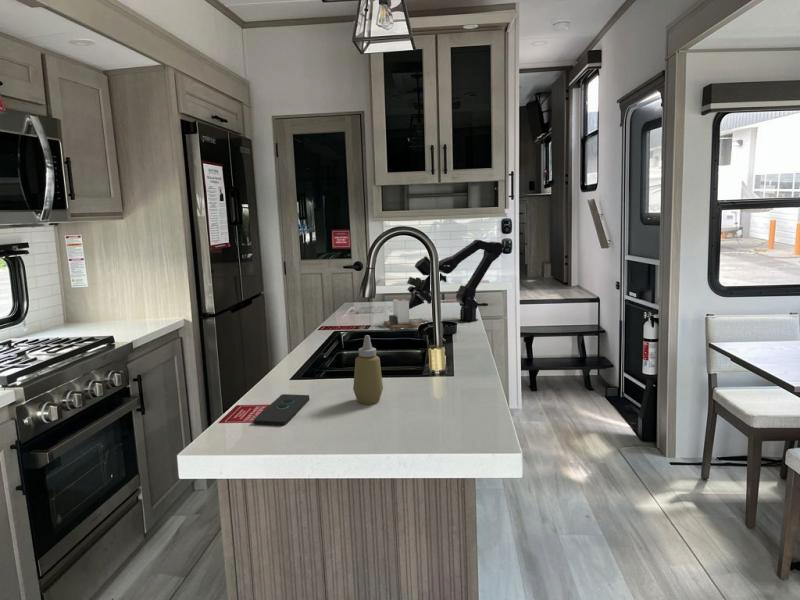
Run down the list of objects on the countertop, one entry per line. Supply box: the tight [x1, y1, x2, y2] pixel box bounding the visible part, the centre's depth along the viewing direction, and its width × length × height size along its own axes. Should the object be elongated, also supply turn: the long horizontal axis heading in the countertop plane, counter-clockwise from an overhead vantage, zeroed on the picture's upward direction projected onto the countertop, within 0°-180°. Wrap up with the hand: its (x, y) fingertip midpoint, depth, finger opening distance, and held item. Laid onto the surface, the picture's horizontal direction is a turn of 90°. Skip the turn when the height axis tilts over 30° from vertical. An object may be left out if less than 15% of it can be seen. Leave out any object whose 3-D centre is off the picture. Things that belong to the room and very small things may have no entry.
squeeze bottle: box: [352, 334, 384, 405], centre depth 154 cm, size 8×8×18 cm
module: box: [392, 297, 410, 324], centre depth 254 cm, size 5×7×11 cm
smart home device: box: [253, 393, 310, 427], centre depth 149 cm, size 8×2×20 cm
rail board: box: [383, 314, 430, 330], centre depth 255 cm, size 18×14×4 cm
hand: (406, 308), depth 255 cm, fingers closed, pressing on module
